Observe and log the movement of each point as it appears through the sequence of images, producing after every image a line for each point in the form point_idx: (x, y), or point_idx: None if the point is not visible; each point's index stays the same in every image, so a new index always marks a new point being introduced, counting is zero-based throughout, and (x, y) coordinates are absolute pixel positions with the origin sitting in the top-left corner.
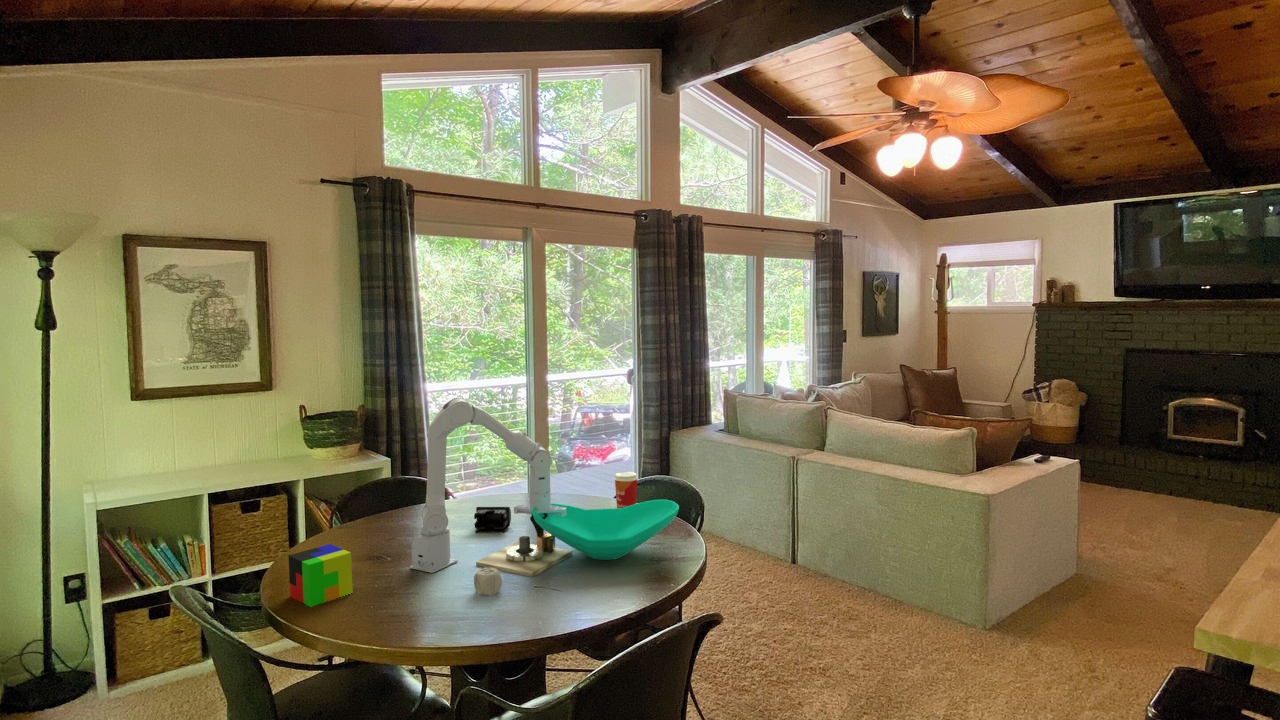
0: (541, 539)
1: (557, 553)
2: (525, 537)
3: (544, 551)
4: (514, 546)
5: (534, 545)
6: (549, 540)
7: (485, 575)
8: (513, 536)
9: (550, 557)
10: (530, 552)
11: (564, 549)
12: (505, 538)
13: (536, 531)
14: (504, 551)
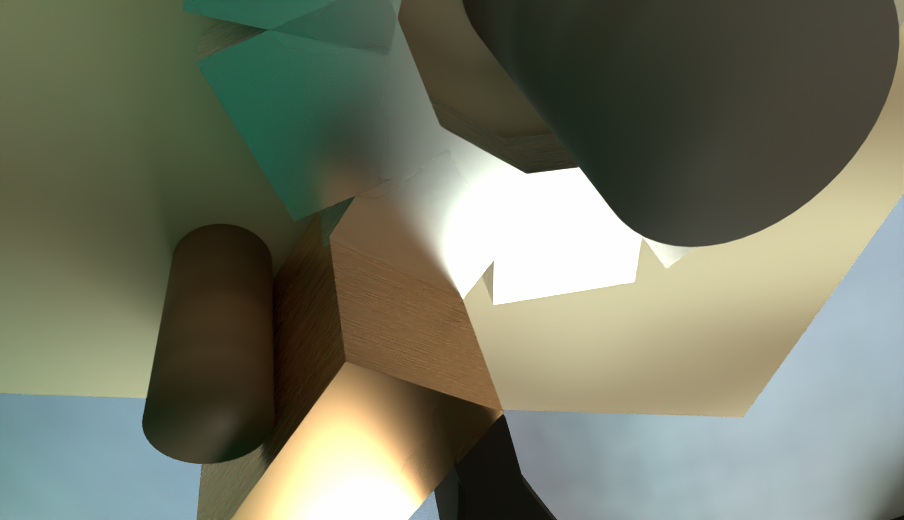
0: (353, 344)
1: (43, 232)
2: (721, 139)
3: None
4: (773, 284)
5: (495, 280)
6: (177, 375)
7: None
8: (789, 505)
9: (26, 13)
10: None
11: (56, 392)
12: (853, 457)
13: (545, 513)
14: (896, 94)
